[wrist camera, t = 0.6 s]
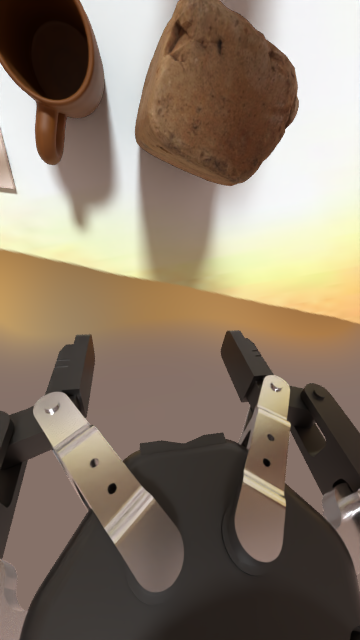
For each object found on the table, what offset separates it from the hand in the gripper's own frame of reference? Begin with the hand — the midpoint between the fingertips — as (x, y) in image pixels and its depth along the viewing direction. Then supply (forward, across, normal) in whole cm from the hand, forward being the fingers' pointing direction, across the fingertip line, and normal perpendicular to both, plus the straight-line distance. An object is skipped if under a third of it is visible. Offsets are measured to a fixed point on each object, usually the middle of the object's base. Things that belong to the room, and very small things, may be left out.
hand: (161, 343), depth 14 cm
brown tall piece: (+27, -5, -11) cm, 30 cm away
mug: (+27, +8, -12) cm, 31 cm away
